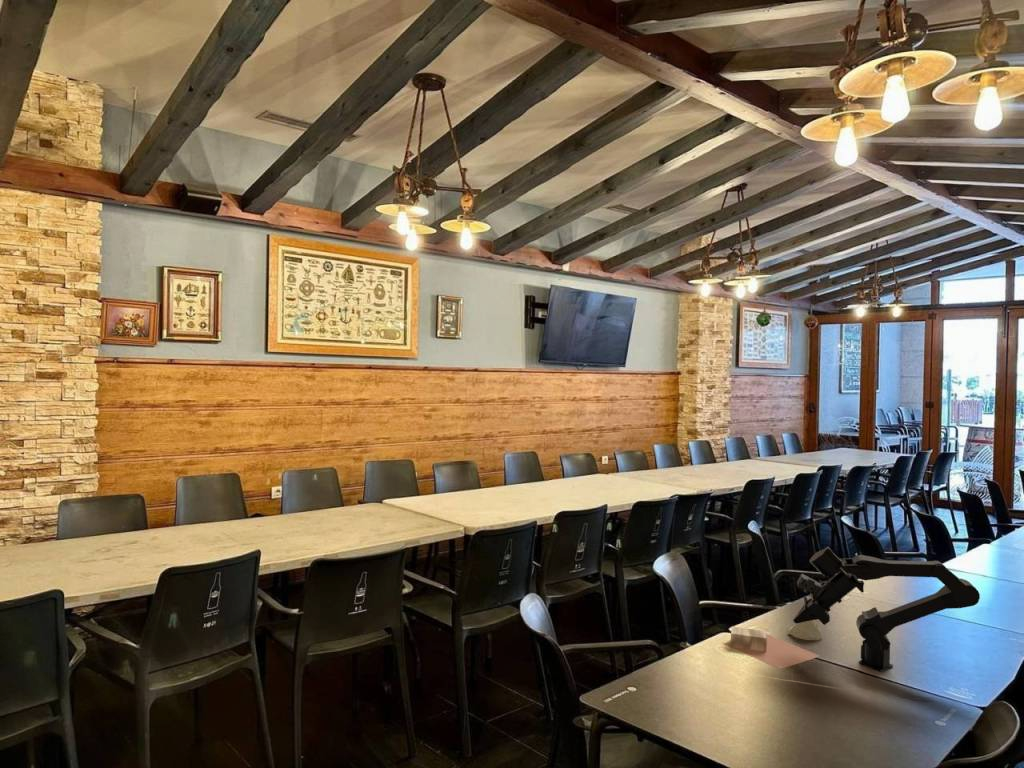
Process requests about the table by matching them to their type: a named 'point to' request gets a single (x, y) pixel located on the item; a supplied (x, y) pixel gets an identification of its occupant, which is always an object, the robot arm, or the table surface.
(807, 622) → the seashell
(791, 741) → the table surface
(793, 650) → the rubber mat
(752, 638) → the birch block
